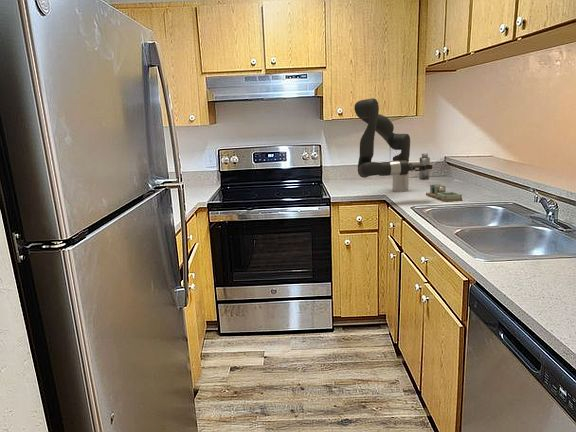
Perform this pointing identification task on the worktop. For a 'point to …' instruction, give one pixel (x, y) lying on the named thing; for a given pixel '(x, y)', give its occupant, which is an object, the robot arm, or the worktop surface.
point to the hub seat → (449, 195)
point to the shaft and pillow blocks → (437, 188)
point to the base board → (441, 198)
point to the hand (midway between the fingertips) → (429, 166)
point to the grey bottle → (425, 174)
